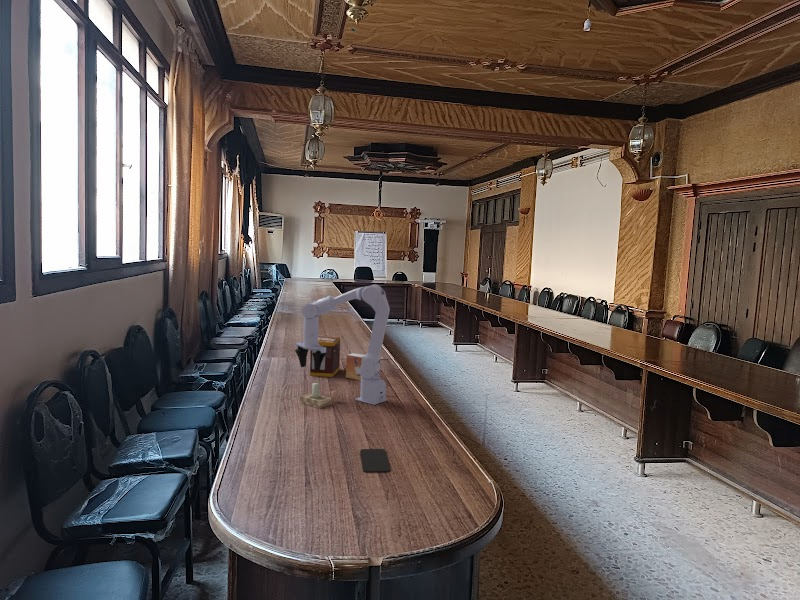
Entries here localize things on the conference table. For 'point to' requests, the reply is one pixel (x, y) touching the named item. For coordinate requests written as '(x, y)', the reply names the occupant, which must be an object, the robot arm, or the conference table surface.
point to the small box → (354, 365)
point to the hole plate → (315, 400)
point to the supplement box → (327, 357)
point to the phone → (374, 460)
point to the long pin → (315, 390)
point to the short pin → (334, 396)
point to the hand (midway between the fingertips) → (310, 368)
